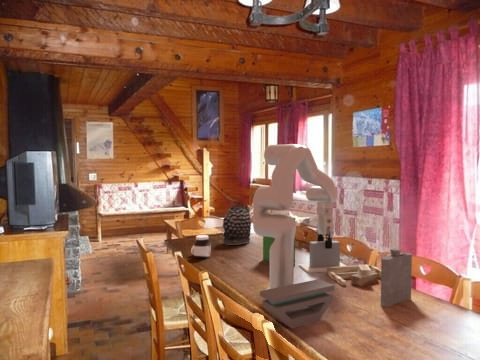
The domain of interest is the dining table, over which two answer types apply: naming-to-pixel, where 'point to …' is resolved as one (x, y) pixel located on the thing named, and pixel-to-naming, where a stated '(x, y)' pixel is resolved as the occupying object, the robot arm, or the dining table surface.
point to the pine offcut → (364, 270)
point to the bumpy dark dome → (237, 225)
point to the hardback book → (266, 248)
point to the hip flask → (395, 278)
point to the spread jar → (201, 247)
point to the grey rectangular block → (324, 255)
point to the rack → (347, 272)
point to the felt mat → (312, 270)
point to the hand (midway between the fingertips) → (324, 246)
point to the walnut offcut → (364, 279)
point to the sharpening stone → (298, 302)
